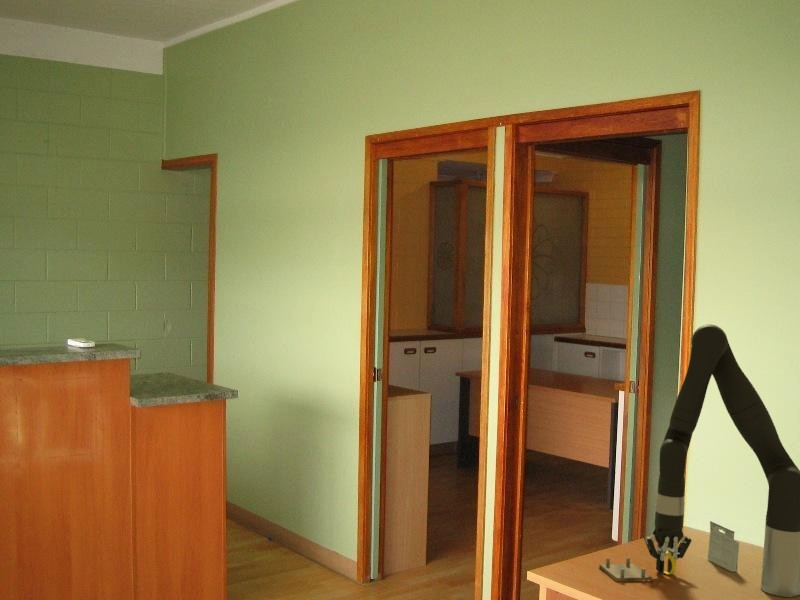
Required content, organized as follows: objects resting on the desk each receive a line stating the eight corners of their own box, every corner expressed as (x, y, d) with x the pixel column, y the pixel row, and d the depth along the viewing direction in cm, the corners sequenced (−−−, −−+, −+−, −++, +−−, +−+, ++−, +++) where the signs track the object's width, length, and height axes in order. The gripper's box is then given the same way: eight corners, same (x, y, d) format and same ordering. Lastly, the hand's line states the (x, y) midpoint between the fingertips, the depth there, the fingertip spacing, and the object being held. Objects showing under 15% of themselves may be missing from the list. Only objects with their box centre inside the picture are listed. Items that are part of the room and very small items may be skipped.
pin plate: (632, 567, 260) (633, 556, 259) (651, 581, 249) (652, 570, 249) (599, 568, 257) (600, 557, 257) (616, 581, 247) (617, 570, 247)
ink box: (738, 572, 261) (741, 531, 260) (731, 572, 260) (734, 532, 260) (713, 559, 272) (716, 520, 271) (706, 559, 271) (709, 520, 271)
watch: (677, 576, 254) (678, 554, 254) (670, 577, 252) (672, 556, 252) (660, 569, 259) (661, 548, 259) (653, 571, 257) (654, 549, 257)
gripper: (652, 514, 250) (648, 578, 251) (699, 514, 253) (695, 577, 254) (640, 507, 257) (635, 568, 258) (685, 506, 260) (681, 568, 261)
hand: (665, 572), depth 256 cm, fingers closed on watch, 2 cm apart
